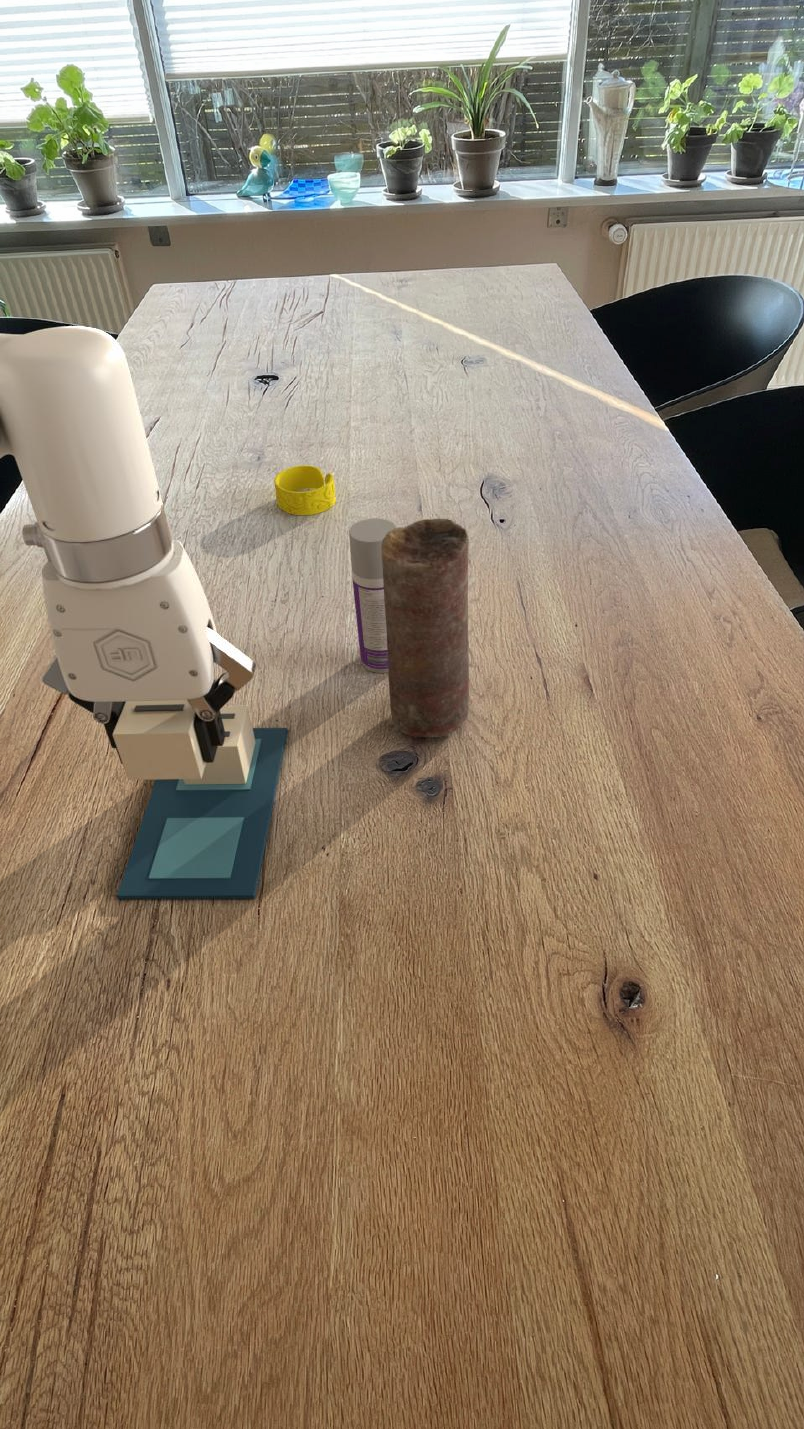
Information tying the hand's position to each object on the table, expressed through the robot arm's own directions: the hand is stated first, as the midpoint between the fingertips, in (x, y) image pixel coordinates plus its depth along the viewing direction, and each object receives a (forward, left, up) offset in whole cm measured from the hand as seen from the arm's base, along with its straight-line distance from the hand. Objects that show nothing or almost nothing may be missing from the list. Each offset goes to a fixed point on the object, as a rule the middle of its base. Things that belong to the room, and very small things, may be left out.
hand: (171, 749), depth 71 cm
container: (+14, +26, -12) cm, 32 cm away
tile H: (0, +10, -11) cm, 15 cm away
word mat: (0, +5, -11) cm, 13 cm away
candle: (+19, +16, -12) cm, 27 cm away
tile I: (0, 0, 0) cm, 0 cm away
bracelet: (+2, +61, -12) cm, 62 cm away
